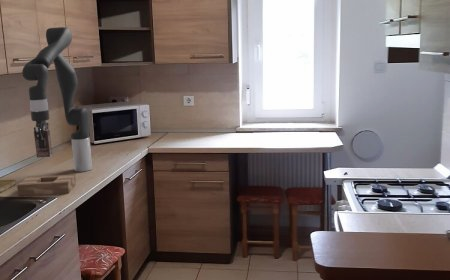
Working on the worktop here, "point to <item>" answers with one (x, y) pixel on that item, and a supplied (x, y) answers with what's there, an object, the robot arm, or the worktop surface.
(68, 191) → the slot beam
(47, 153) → the box
